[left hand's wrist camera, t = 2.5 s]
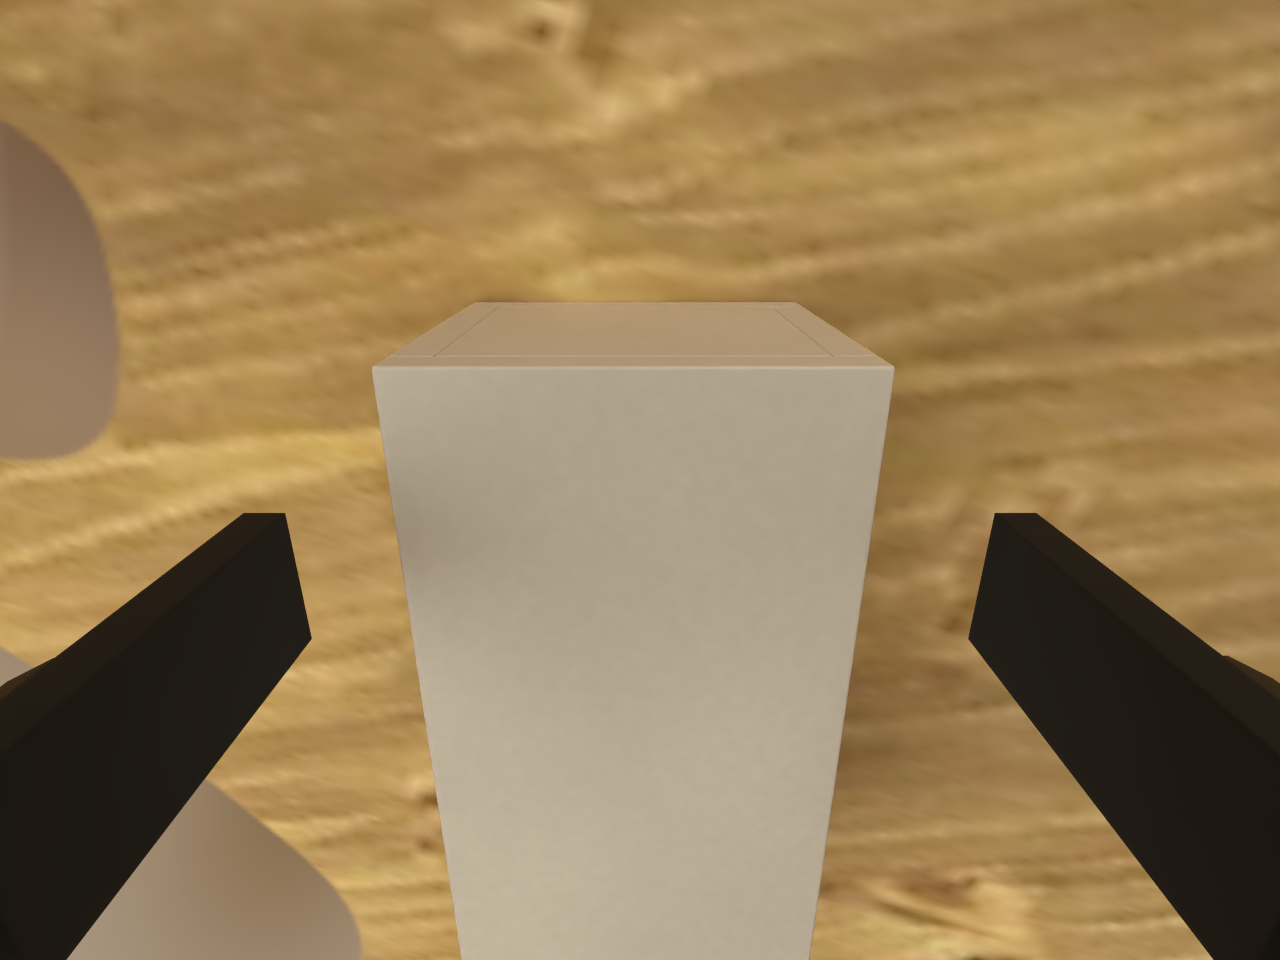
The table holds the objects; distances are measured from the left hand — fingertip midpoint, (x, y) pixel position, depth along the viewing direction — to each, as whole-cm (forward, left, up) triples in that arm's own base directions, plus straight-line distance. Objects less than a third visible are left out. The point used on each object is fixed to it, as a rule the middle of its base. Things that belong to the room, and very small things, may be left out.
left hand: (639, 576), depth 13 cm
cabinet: (+5, -3, -11) cm, 12 cm away
